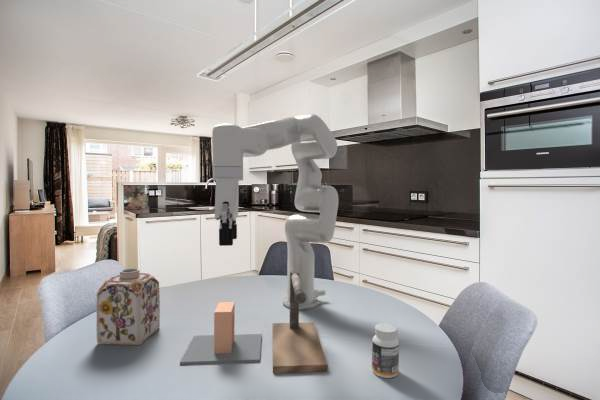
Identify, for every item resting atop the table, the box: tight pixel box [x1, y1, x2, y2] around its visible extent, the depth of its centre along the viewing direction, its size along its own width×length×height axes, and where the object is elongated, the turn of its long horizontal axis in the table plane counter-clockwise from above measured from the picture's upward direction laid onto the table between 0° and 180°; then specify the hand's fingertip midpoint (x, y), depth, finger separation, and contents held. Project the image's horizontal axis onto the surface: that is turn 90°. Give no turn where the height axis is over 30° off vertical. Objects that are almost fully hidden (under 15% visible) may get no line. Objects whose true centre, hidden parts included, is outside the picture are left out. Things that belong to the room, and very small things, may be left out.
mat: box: [179, 333, 262, 365], centre depth 84 cm, size 18×14×1 cm
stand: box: [272, 271, 328, 374], centre depth 85 cm, size 12×24×17 cm, turn 5°
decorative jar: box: [95, 267, 161, 346], centre depth 91 cm, size 12×12×18 cm
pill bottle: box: [371, 323, 400, 379], centre depth 74 cm, size 6×6×10 cm
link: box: [213, 301, 236, 354], centre depth 84 cm, size 7×4×10 cm, turn 5°
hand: (228, 242), depth 85 cm, fingers open, 9 cm apart
